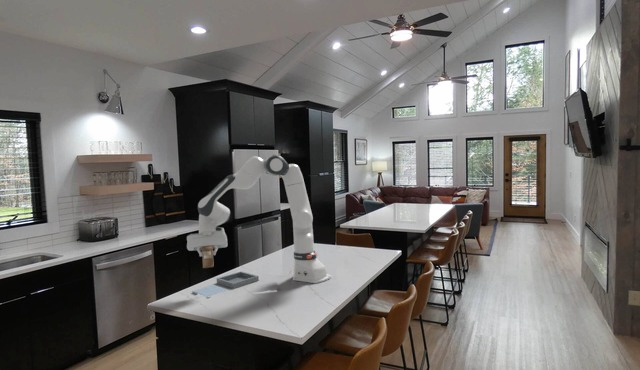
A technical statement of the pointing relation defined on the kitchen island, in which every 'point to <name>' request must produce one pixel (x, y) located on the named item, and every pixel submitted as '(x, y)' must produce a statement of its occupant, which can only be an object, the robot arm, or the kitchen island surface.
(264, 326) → the kitchen island surface
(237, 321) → the kitchen island surface
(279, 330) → the kitchen island surface
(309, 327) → the kitchen island surface
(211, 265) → the walnut block
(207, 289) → the light blue flat slab
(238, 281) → the parts bin
